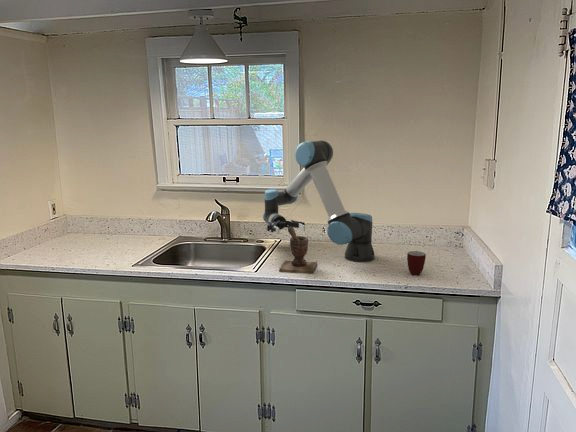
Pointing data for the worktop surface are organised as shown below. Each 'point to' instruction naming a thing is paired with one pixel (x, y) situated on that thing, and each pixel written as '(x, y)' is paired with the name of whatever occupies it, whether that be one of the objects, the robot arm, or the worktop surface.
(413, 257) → the mug
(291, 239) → the mortar and pestle
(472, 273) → the worktop surface
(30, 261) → the worktop surface
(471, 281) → the worktop surface
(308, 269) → the walnut cutting board
